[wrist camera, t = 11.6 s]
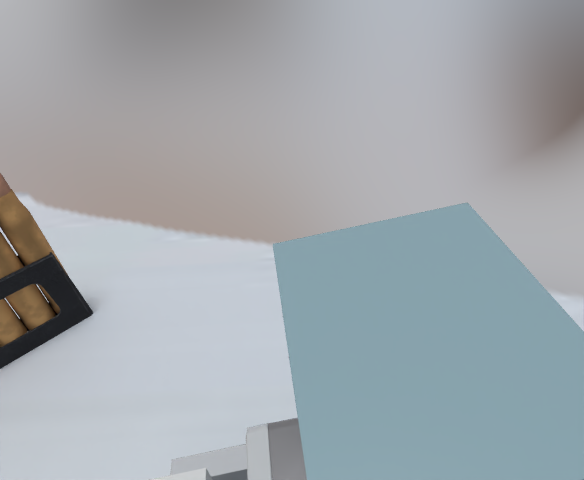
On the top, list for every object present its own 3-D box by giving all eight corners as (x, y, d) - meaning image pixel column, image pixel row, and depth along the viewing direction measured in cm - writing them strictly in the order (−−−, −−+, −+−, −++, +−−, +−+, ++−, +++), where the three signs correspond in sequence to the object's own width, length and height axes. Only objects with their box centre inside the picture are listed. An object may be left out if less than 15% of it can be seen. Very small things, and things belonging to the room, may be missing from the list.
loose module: (370, 703, 10) (316, 536, 5) (324, 455, 15) (272, 243, 10) (562, 662, 10) (694, 455, 5) (454, 427, 15) (467, 202, 10)
